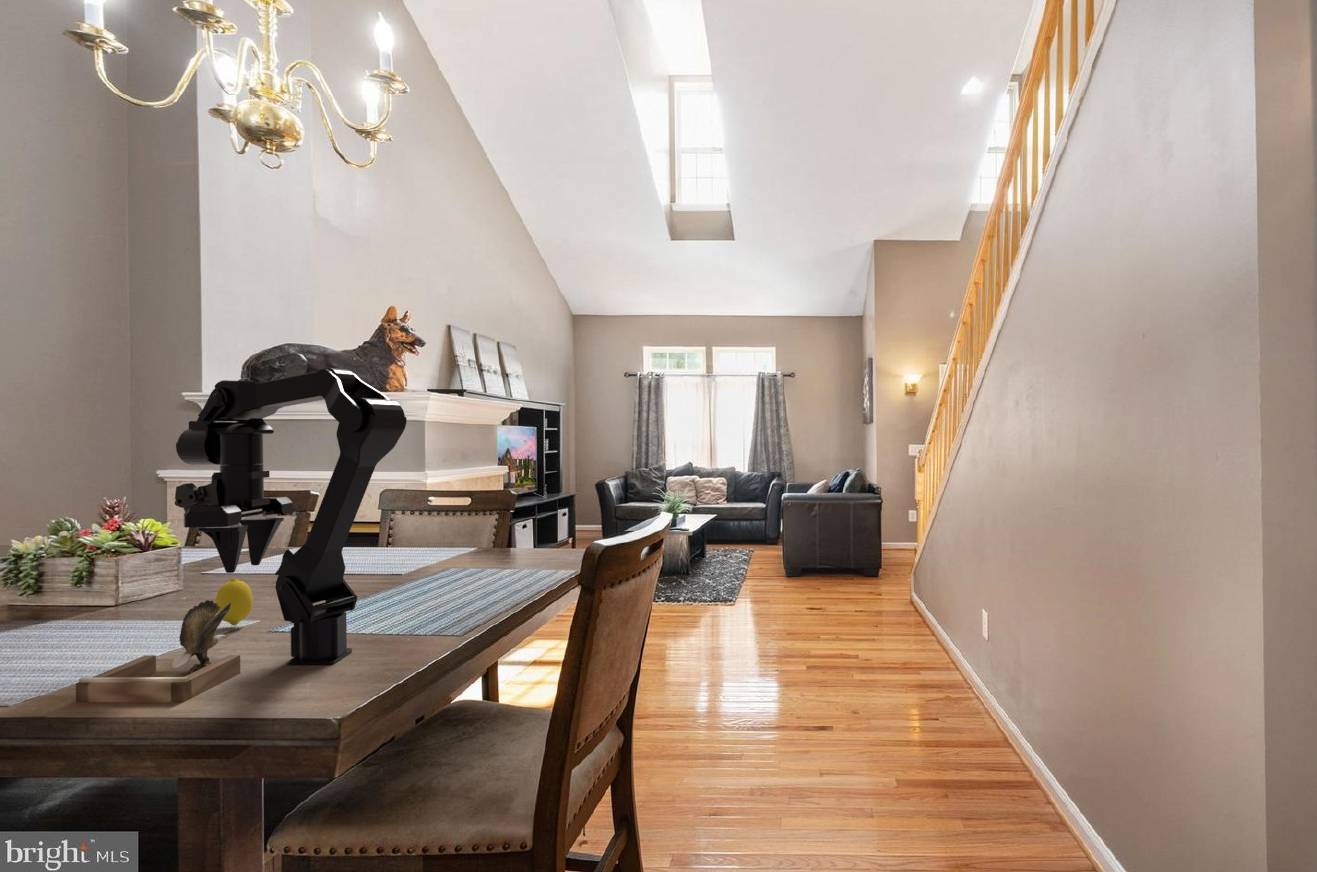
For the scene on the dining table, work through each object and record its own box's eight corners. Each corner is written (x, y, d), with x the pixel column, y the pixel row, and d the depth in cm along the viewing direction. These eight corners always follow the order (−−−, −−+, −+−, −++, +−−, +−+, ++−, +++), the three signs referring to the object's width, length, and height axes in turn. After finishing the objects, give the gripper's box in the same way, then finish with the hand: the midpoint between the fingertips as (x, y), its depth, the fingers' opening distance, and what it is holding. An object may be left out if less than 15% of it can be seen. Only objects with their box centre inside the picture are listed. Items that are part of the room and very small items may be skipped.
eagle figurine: (247, 662, 105) (246, 598, 105) (207, 678, 98) (206, 610, 98) (201, 660, 106) (200, 597, 106) (158, 675, 99) (157, 608, 99)
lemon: (212, 625, 126) (211, 578, 126) (248, 619, 130) (247, 574, 130) (219, 631, 122) (219, 582, 122) (257, 625, 126) (256, 578, 126)
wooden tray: (240, 673, 100) (240, 651, 100) (183, 704, 88) (183, 679, 88) (145, 673, 100) (144, 652, 100) (75, 704, 89) (75, 680, 89)
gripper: (226, 463, 122) (227, 559, 122) (144, 468, 103) (146, 581, 103) (294, 462, 121) (295, 558, 121) (224, 467, 103) (226, 580, 103)
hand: (243, 568), depth 112 cm, fingers open, 6 cm apart
